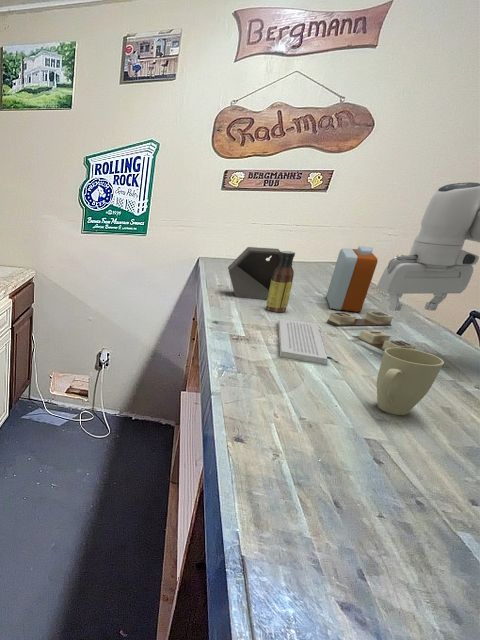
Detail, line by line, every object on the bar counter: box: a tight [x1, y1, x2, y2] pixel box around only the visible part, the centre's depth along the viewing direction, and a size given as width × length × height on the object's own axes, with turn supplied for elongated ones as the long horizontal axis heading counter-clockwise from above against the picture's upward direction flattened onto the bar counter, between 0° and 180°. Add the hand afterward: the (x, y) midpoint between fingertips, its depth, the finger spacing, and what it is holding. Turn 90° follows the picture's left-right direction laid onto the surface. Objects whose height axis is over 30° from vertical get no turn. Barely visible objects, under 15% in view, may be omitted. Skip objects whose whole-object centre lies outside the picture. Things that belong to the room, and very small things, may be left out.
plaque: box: [277, 318, 328, 365], centre depth 129 cm, size 30×2×10 cm
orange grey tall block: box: [326, 245, 378, 313], centre depth 159 cm, size 18×9×21 cm, turn 150°
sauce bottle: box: [265, 250, 296, 313], centre depth 153 cm, size 6×6×20 cm
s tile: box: [382, 339, 417, 350], centre depth 120 cm, size 5×5×3 cm
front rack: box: [351, 329, 391, 352], centre depth 123 cm, size 6×16×4 cm, turn 3°
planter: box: [227, 246, 282, 300], centre depth 170 cm, size 17×8×21 cm
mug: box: [376, 348, 445, 416], centre depth 91 cm, size 11×10×12 cm
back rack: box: [326, 311, 394, 328], centre depth 142 cm, size 17×6×4 cm, turn 93°
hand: (412, 310), depth 115 cm, fingers open, 8 cm apart
